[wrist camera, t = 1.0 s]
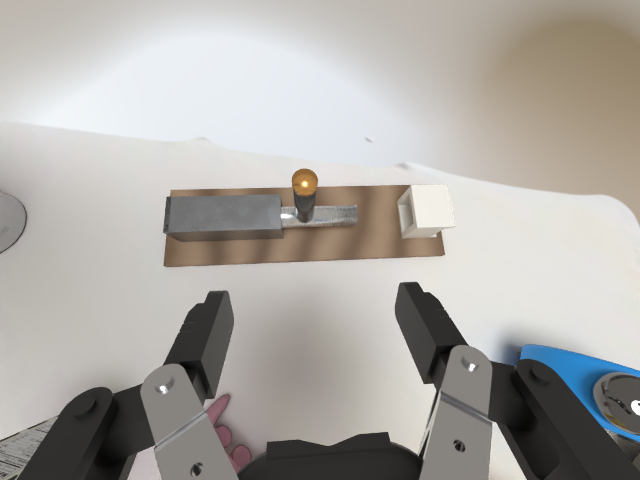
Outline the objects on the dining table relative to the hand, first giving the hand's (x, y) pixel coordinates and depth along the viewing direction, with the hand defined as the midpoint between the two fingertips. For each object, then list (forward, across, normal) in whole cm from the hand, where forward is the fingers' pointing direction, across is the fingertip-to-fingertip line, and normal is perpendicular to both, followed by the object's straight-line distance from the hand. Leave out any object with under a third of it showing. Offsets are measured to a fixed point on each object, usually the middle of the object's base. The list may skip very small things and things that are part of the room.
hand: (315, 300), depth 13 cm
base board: (+26, 0, +9) cm, 27 cm away
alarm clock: (+10, -31, +26) cm, 41 cm away
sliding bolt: (+24, +4, +8) cm, 26 cm away
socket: (+25, -16, +8) cm, 31 cm away
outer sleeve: (+25, +10, +8) cm, 28 cm away
